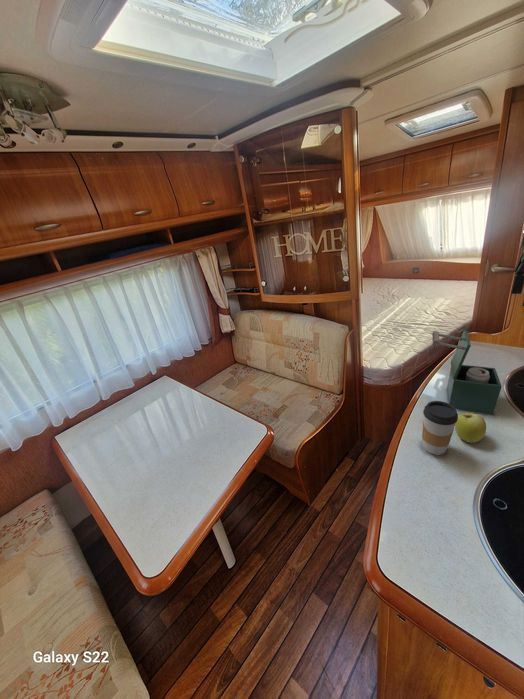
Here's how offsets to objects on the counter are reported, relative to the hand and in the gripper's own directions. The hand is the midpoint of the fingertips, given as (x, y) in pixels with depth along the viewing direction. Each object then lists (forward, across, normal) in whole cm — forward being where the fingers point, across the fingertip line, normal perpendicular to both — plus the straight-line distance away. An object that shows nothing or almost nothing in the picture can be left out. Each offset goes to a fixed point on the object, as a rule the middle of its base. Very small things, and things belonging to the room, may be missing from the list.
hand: (521, 299), depth 94 cm
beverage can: (+31, -19, +12) cm, 39 cm away
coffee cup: (+32, -46, +24) cm, 61 cm away
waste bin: (+32, -19, +13) cm, 40 cm away
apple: (+32, -38, +15) cm, 52 cm away
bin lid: (+13, -19, +17) cm, 29 cm away
